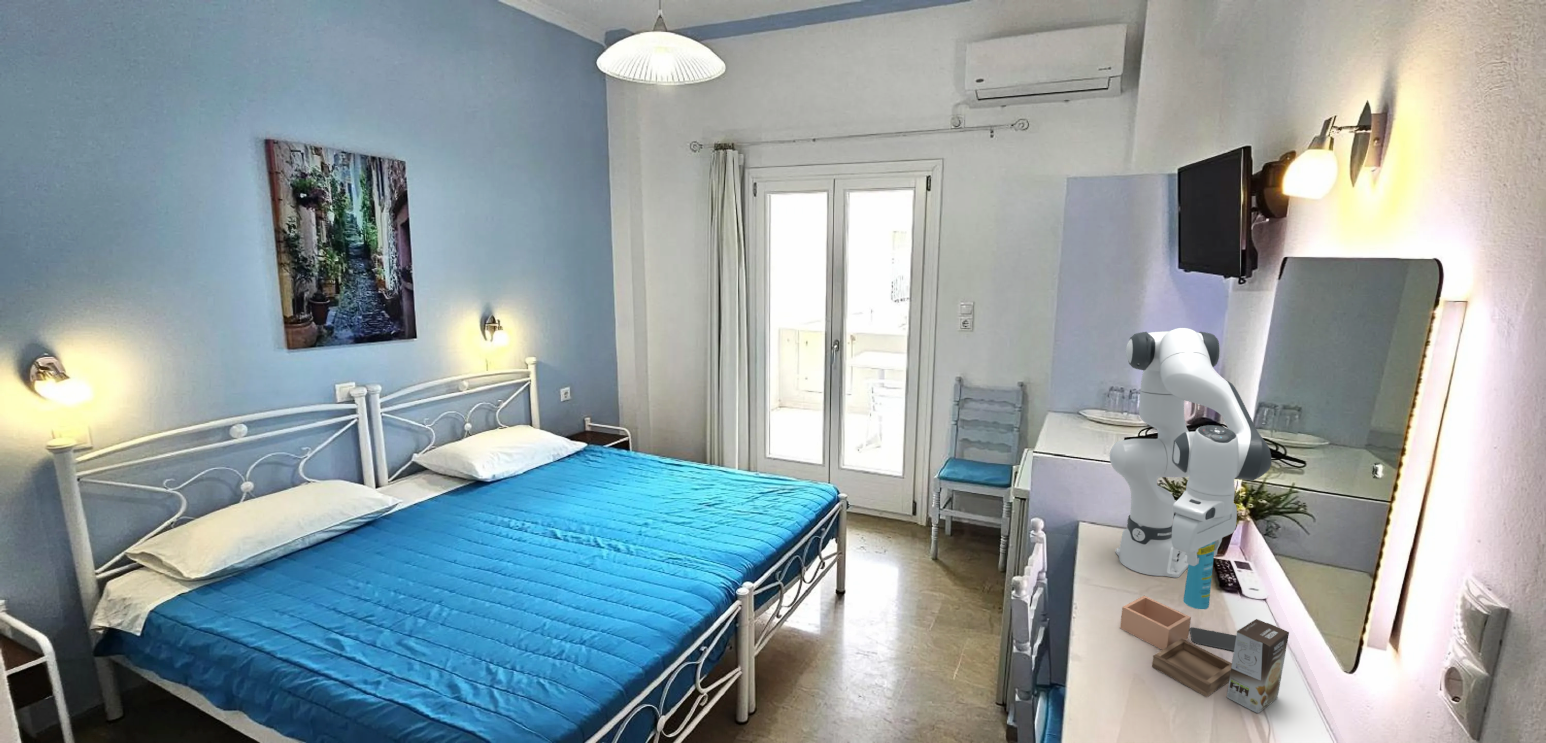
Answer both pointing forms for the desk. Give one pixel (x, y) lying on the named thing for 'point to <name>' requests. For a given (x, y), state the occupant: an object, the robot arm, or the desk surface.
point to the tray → (1193, 667)
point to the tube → (1200, 579)
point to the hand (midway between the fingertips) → (1201, 559)
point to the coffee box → (1257, 665)
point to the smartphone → (1213, 639)
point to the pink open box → (1154, 622)
